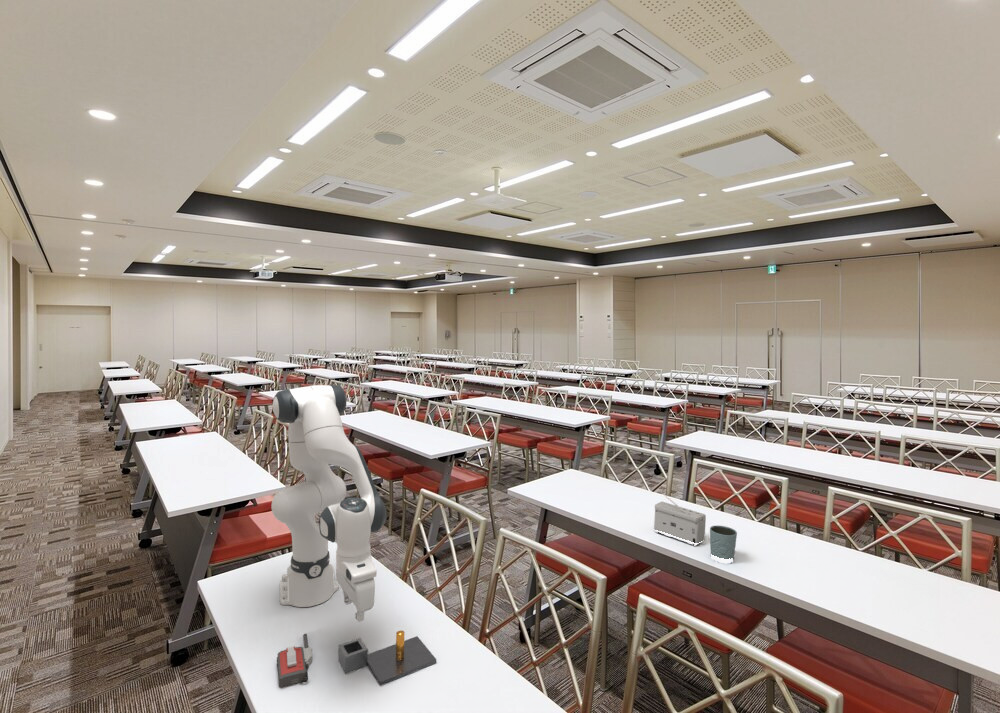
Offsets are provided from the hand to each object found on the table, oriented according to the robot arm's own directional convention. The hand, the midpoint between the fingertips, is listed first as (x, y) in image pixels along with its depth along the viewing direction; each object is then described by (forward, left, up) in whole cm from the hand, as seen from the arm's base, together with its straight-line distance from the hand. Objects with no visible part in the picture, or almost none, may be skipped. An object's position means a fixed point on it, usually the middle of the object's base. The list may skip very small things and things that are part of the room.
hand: (353, 611), depth 134 cm
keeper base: (+6, +11, -15) cm, 19 cm away
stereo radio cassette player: (-3, +147, -15) cm, 148 cm away
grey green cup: (+19, +145, -15) cm, 147 cm away
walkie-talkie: (-9, -13, -15) cm, 22 cm away
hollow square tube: (0, 0, -15) cm, 15 cm away
